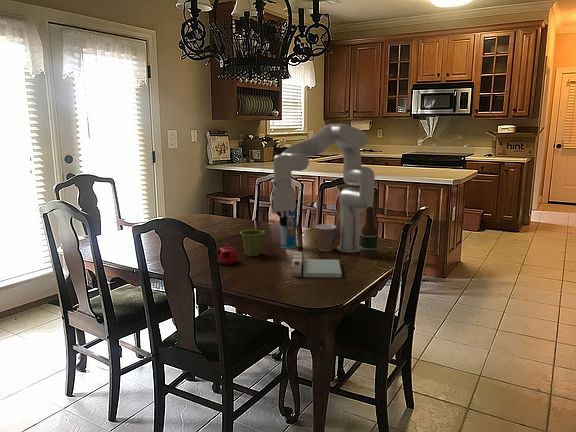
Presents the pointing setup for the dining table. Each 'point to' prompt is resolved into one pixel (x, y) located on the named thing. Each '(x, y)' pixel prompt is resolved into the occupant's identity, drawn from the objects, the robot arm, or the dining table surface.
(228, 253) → the pomegranate
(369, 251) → the beer bottle
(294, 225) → the beverage bottle
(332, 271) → the pale green flat slab
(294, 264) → the beige patterned long block
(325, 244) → the coffee cup
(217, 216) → the dining table surface
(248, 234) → the plant pot
